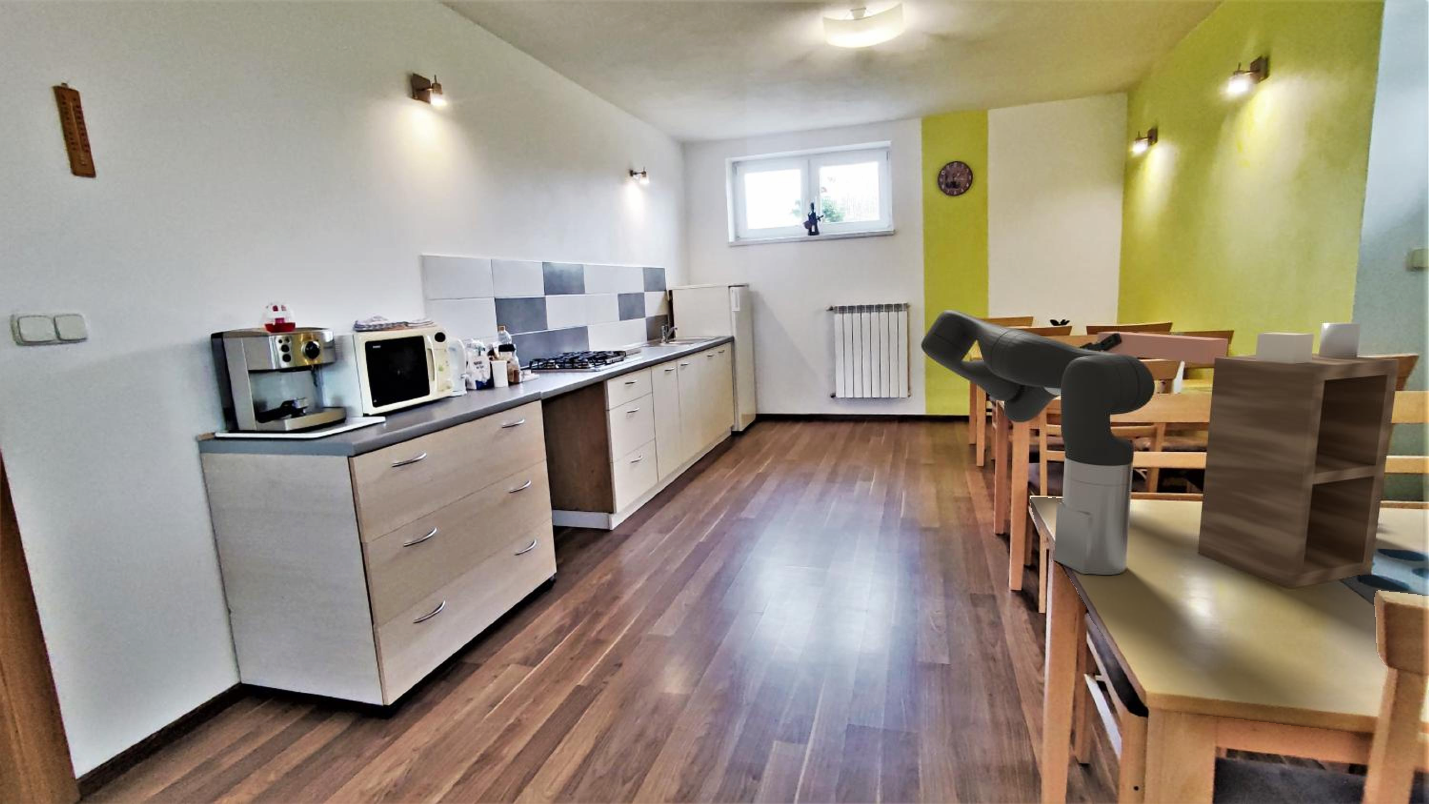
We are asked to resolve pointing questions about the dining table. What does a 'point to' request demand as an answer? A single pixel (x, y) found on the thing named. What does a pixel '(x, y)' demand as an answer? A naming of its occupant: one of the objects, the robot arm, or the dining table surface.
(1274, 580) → the walnut shelf
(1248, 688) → the dining table surface
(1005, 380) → the robot arm
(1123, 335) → the coral bar brick
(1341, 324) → the grey-blue round brick
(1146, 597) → the dining table surface
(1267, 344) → the off-white block brick
